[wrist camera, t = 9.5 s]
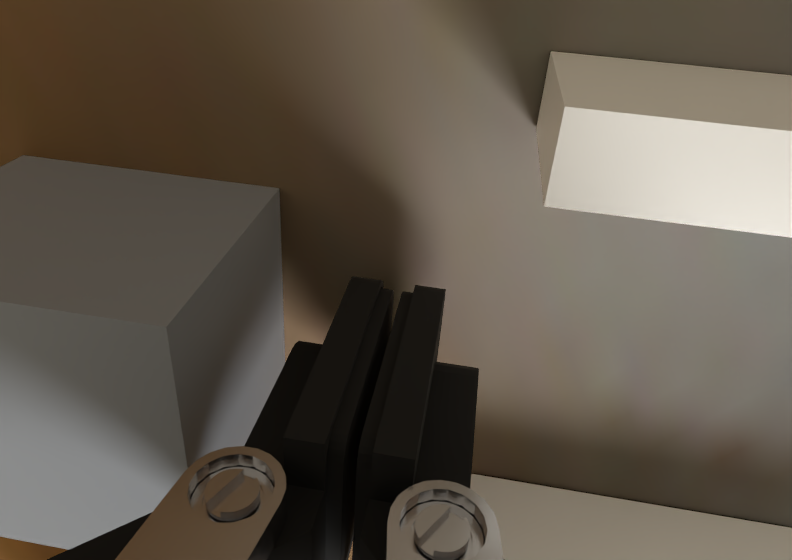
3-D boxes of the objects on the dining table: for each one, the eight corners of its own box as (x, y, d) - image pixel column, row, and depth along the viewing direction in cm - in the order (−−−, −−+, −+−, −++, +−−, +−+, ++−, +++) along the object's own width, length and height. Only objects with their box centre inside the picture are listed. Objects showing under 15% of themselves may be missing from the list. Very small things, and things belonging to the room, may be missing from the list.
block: (281, 186, 11) (166, 327, 8) (287, 393, 14) (203, 576, 10) (26, 153, 12) (-202, 270, 8) (78, 359, 15) (-77, 521, 11)
